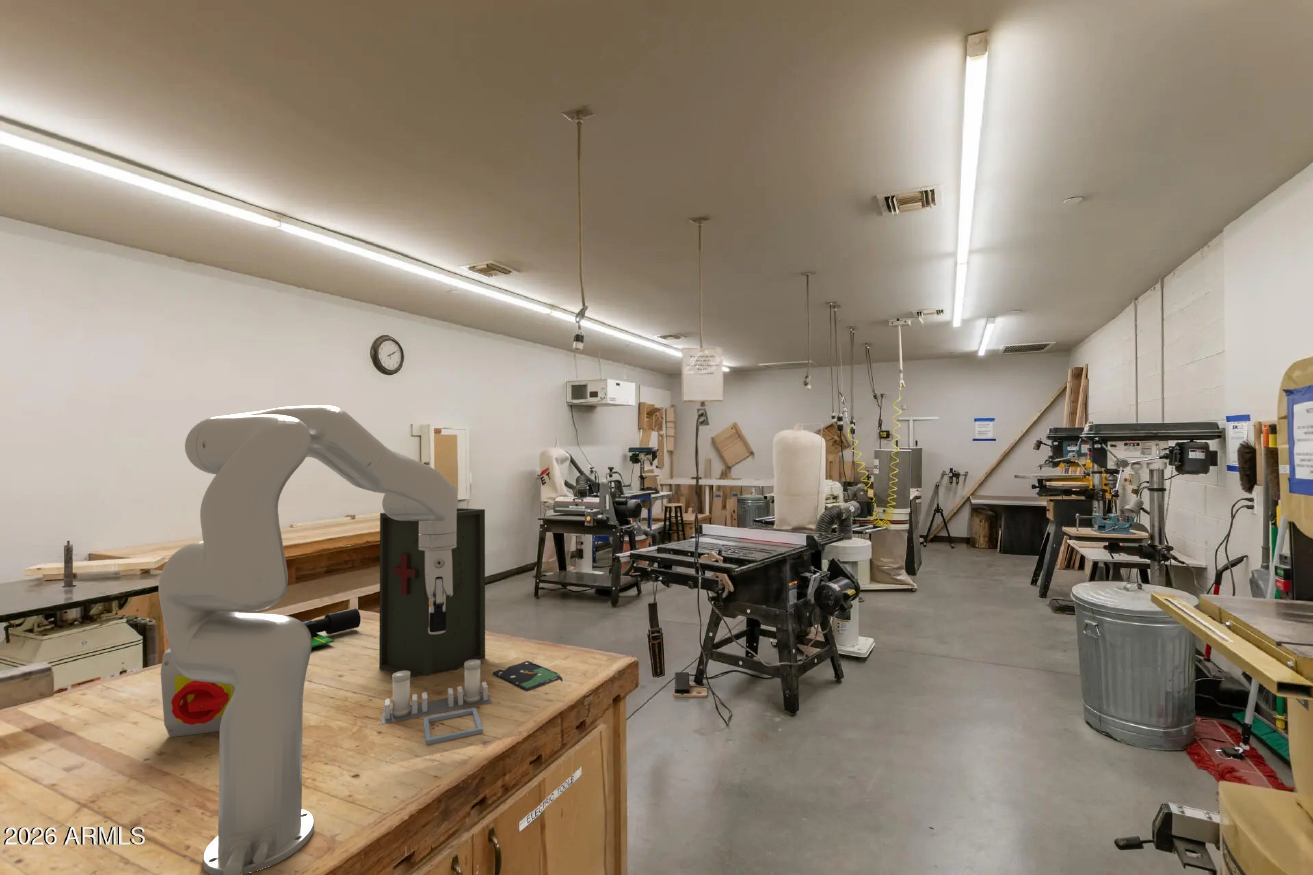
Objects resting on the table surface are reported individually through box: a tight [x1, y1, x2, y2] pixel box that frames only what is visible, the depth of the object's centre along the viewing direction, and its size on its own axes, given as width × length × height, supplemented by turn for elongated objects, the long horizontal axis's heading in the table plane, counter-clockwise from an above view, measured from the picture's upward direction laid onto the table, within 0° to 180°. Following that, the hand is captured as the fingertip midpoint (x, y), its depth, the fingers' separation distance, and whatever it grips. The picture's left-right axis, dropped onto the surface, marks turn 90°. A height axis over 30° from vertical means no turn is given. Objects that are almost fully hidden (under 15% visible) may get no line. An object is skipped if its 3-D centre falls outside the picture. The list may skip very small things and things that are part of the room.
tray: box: [423, 707, 484, 746], centre depth 108 cm, size 10×10×2 cm
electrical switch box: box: [160, 647, 234, 738], centre depth 111 cm, size 15×15×20 cm
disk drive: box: [492, 660, 563, 692], centre depth 133 cm, size 10×3×15 cm
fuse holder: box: [381, 681, 492, 725], centre depth 117 cm, size 7×21×4 cm, turn 115°
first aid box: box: [378, 507, 486, 679], centre depth 147 cm, size 18×18×40 cm
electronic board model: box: [300, 607, 362, 649], centre depth 163 cm, size 30×7×15 cm
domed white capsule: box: [391, 671, 411, 717], centre depth 114 cm, size 3×3×8 cm
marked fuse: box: [428, 592, 446, 634], centre depth 117 cm, size 3×3×8 cm
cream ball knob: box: [463, 660, 482, 703], centre depth 120 cm, size 3×3×8 cm
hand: (437, 627), depth 117 cm, fingers closed on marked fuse, 3 cm apart
